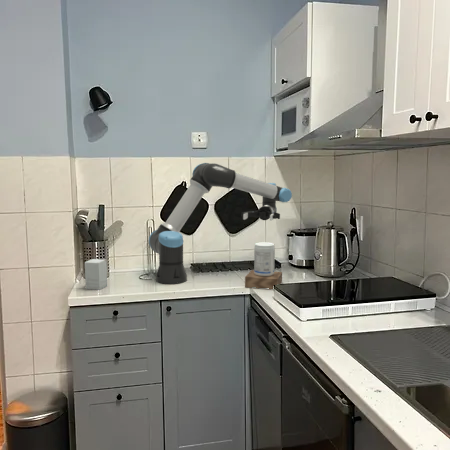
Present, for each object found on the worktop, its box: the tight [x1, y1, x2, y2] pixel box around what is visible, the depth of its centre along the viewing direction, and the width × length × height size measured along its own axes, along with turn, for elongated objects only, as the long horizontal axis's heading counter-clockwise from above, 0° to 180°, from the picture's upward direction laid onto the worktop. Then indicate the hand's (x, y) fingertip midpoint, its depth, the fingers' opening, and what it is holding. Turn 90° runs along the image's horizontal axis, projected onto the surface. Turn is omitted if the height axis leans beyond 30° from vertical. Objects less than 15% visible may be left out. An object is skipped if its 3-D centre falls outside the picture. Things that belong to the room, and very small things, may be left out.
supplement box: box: [84, 258, 108, 291], centre depth 214 cm, size 7×7×13 cm
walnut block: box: [244, 269, 283, 290], centre depth 221 cm, size 15×14×5 cm
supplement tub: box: [253, 241, 276, 276], centre depth 219 cm, size 10×10×15 cm
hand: (257, 217), depth 234 cm, fingers open, 13 cm apart
